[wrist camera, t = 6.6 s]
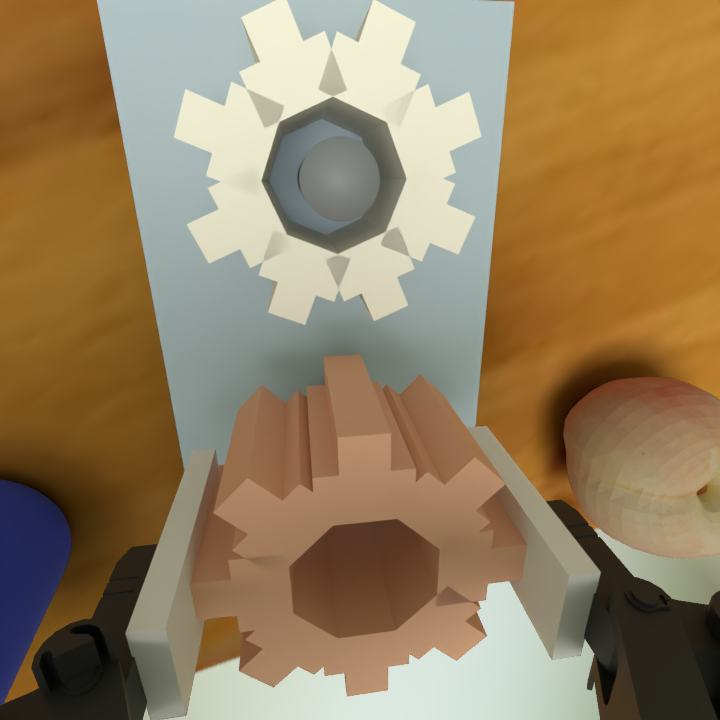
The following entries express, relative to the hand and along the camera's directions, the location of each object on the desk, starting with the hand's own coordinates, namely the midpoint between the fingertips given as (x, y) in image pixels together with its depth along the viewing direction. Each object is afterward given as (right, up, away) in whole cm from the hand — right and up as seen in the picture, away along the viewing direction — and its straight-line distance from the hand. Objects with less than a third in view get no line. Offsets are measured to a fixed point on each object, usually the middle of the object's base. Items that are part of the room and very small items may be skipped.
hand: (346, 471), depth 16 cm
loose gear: (0, 0, 0) cm, 0 cm away
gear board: (-1, +7, +5) cm, 8 cm away
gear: (-1, +11, +1) cm, 11 cm away
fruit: (+14, +1, +10) cm, 17 cm away
